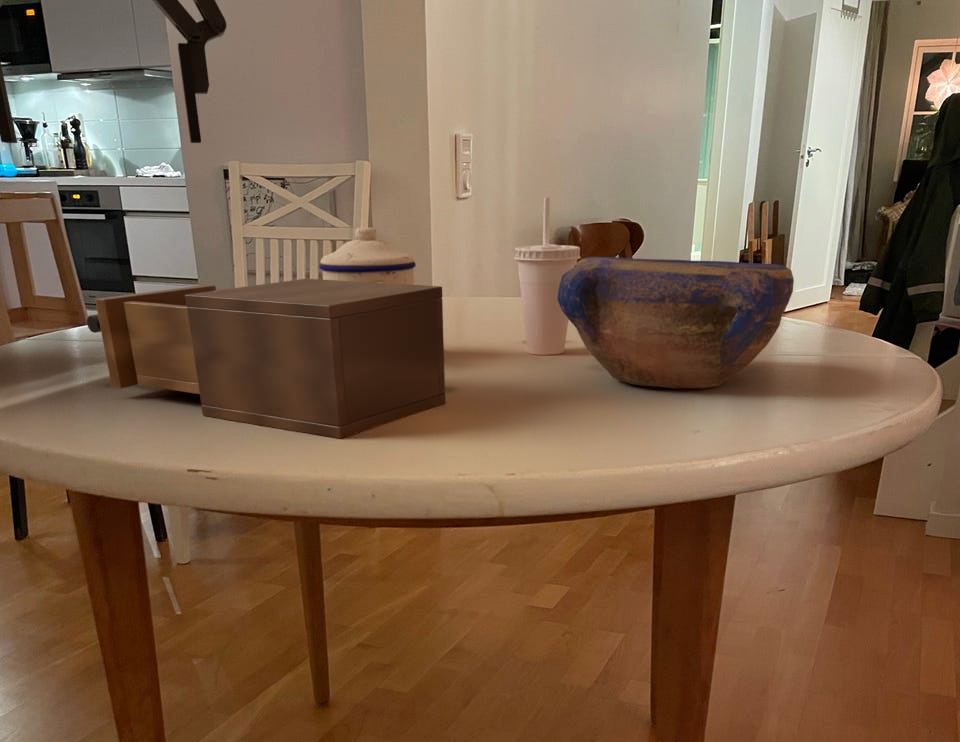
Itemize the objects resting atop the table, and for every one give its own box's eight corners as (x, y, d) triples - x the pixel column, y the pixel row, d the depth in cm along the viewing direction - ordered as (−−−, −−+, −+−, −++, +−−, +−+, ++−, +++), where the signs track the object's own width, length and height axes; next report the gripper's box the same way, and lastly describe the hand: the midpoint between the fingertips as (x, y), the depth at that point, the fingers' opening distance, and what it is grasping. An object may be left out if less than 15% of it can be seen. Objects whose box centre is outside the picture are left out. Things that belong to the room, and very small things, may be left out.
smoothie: (505, 355, 91) (505, 198, 84) (524, 345, 96) (525, 196, 90) (568, 358, 89) (573, 197, 82) (584, 347, 94) (589, 196, 88)
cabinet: (202, 415, 69) (184, 294, 65) (315, 385, 79) (305, 278, 75) (340, 438, 62) (329, 305, 59) (445, 403, 72) (442, 286, 68)
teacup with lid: (320, 352, 94) (309, 227, 88) (406, 346, 96) (401, 224, 91) (341, 373, 83) (330, 233, 78) (437, 366, 86) (433, 230, 81)
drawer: (69, 380, 77) (51, 295, 74) (176, 359, 86) (163, 281, 83) (218, 404, 69) (205, 308, 65) (321, 377, 77) (313, 291, 74)
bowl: (794, 368, 83) (811, 248, 78) (760, 410, 68) (778, 266, 64) (604, 355, 90) (609, 244, 85) (536, 391, 75) (538, 260, 71)
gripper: (-188, -262, 55) (-86, 140, 65) (237, -220, 61) (273, 140, 71) (-151, -216, 61) (-63, 144, 71) (231, -182, 68) (264, 143, 77)
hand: (105, 143), depth 71 cm, fingers open, 13 cm apart
